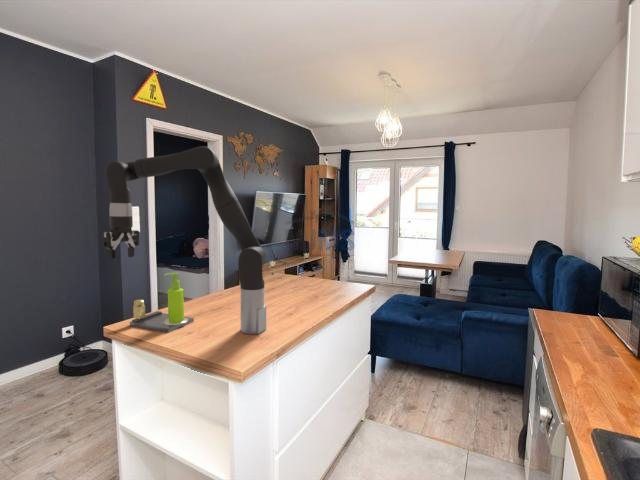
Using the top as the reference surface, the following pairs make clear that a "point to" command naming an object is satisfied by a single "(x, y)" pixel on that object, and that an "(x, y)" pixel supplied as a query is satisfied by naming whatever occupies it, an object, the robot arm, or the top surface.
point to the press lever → (139, 309)
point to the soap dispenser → (175, 300)
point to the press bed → (159, 322)
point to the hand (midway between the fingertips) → (122, 258)
